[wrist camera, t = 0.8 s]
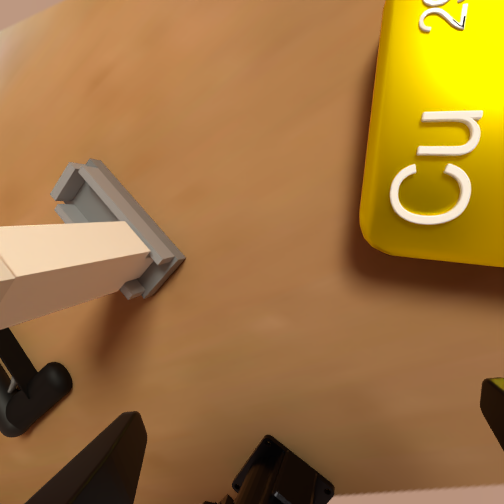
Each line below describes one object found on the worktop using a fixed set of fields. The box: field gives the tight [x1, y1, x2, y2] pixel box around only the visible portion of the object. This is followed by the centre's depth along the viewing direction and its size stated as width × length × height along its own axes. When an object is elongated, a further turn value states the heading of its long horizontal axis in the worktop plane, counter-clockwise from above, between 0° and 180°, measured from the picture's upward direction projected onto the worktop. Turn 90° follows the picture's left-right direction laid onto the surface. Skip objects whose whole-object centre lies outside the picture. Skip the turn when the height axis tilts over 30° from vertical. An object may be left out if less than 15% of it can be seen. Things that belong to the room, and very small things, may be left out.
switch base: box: [50, 159, 186, 300], centre depth 27 cm, size 12×5×3 cm, turn 45°
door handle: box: [0, 328, 72, 437], centre depth 35 cm, size 3×20×16 cm
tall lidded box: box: [0, 221, 154, 330], centre depth 21 cm, size 4×5×13 cm
